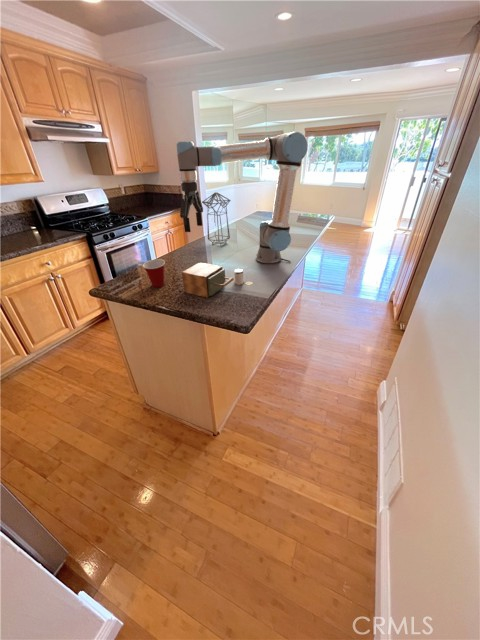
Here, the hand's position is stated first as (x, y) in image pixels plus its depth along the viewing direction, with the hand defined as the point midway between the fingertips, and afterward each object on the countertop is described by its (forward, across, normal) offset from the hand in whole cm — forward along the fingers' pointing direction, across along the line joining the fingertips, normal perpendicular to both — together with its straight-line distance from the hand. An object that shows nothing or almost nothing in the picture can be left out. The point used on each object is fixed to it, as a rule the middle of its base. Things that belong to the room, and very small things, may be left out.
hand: (194, 228), depth 135 cm
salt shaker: (+25, +5, +25) cm, 35 cm away
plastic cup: (+25, +18, -14) cm, 34 cm away
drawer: (+24, +17, +16) cm, 33 cm away
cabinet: (+25, +16, +11) cm, 31 cm away
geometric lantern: (+25, -57, -11) cm, 63 cm away
